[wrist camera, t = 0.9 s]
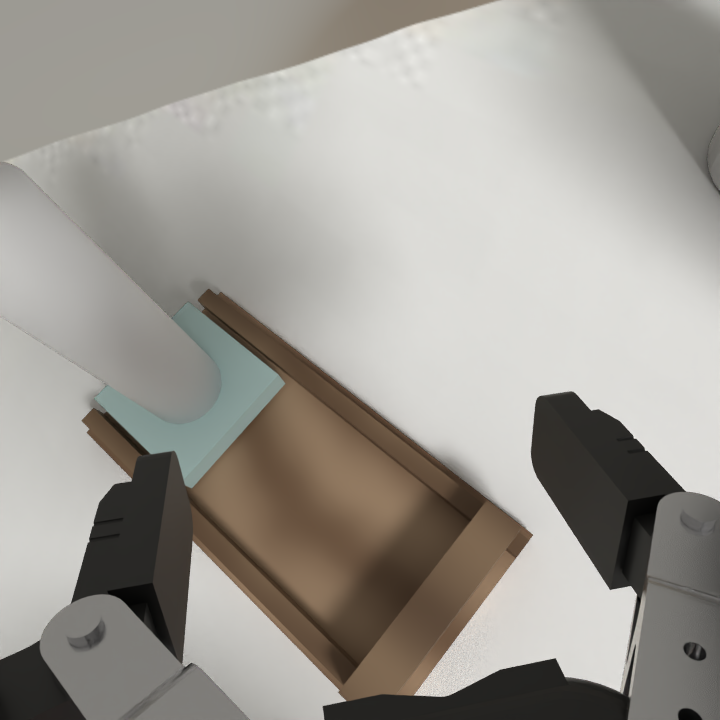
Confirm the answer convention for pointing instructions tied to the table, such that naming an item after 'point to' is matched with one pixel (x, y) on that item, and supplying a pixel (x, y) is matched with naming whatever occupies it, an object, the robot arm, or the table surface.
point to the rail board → (339, 524)
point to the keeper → (125, 335)
